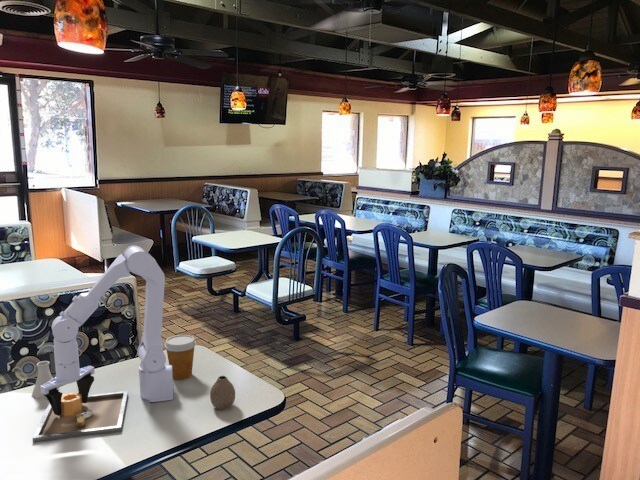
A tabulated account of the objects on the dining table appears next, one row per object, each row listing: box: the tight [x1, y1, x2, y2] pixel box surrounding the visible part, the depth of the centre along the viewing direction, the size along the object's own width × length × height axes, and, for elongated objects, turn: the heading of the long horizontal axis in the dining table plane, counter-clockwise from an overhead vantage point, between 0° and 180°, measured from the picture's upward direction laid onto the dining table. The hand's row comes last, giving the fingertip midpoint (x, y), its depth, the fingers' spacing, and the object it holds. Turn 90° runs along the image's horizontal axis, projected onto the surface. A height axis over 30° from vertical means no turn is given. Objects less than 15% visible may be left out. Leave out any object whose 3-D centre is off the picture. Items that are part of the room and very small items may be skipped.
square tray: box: [32, 390, 129, 444], centre depth 137 cm, size 20×20×1 cm
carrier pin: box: [77, 415, 85, 428], centre depth 132 cm, size 2×2×3 cm
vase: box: [209, 375, 236, 411], centre depth 144 cm, size 7×7×9 cm
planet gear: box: [61, 391, 82, 416], centre depth 139 cm, size 5×5×4 cm
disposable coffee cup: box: [164, 334, 197, 381], centre depth 162 cm, size 10×10×12 cm
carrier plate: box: [33, 397, 126, 444], centre depth 137 cm, size 20×20×1 cm
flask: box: [31, 360, 61, 399], centre depth 149 cm, size 7×7×10 cm
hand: (70, 408), depth 139 cm, fingers open, 7 cm apart
